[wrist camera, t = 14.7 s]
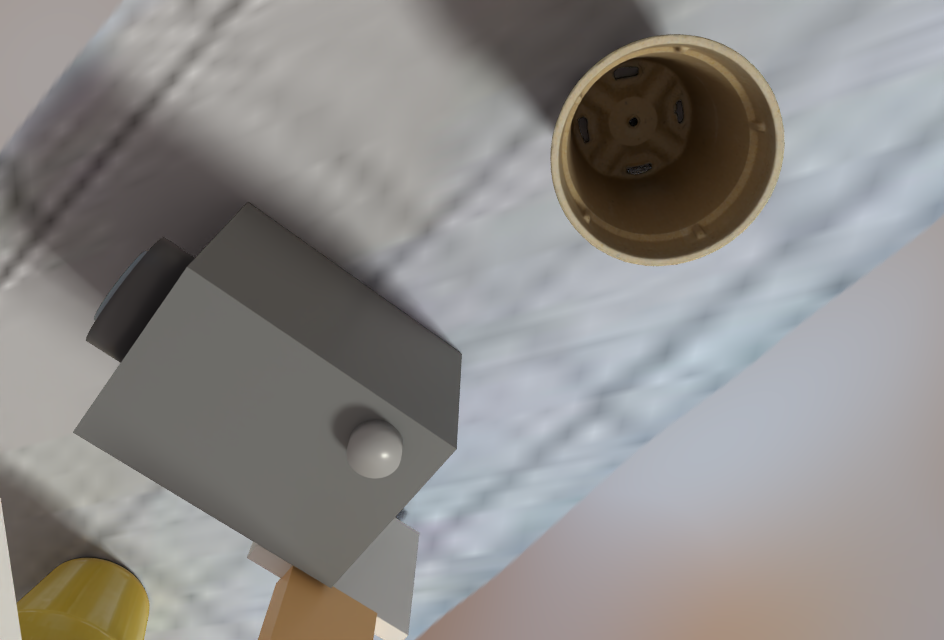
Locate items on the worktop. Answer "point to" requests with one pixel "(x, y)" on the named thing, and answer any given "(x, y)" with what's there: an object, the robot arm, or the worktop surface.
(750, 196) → the flower pot
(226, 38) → the worktop surface
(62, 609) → the plant pot
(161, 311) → the camera body
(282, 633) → the sliding cover
